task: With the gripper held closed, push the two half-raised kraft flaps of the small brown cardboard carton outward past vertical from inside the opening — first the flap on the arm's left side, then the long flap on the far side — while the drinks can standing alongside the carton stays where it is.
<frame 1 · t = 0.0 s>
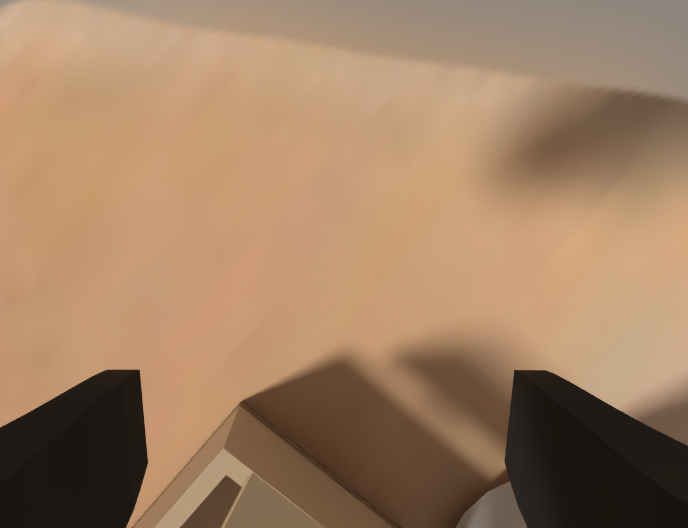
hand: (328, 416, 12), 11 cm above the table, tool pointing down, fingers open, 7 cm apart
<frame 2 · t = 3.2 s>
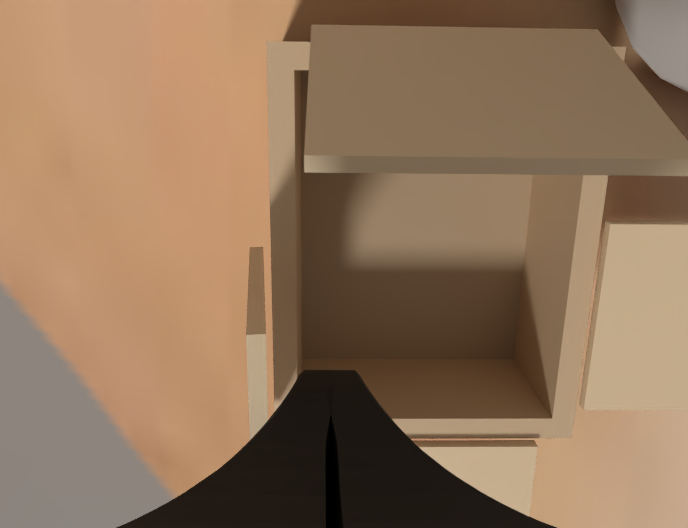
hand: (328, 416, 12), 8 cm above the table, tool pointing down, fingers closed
carton: (413, 222, 19), on the table
long flap: (474, 89, 11), point 7 cm above the table, hinge at 65.0°
side flap: (259, 398, 13), point 7 cm above the table, hinge at 84.1°, touching gripper
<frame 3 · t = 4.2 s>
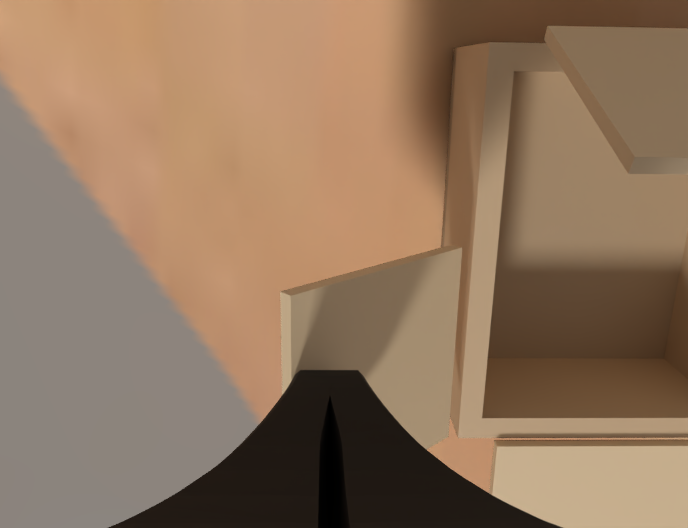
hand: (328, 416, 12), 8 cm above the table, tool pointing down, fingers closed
carton: (572, 222, 19), on the table
side flap: (378, 376, 14), point 6 cm above the table, hinge at 139.1°, touching gripper
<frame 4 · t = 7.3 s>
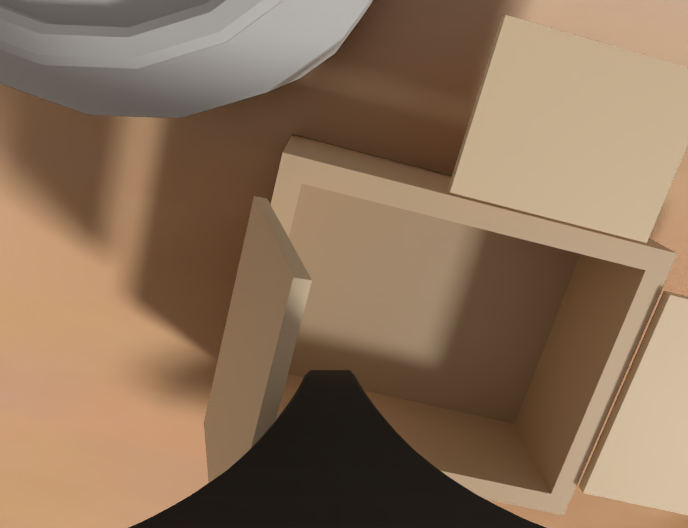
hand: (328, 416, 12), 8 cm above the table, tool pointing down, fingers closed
carton: (416, 297, 20), on the table
long flap: (244, 369, 13), point 7 cm above the table, hinge at 76.6°, touching gripper
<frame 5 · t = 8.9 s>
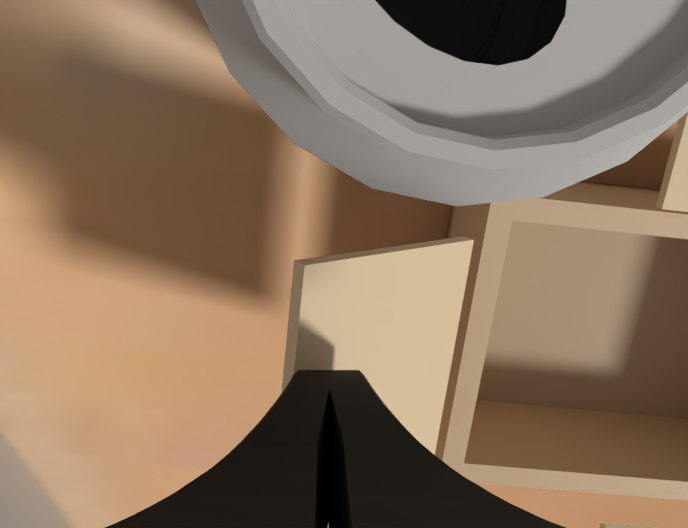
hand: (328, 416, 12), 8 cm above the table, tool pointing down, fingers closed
carton: (590, 308, 20), on the table
long flap: (376, 380, 14), point 6 cm above the table, hinge at 139.4°, touching gripper
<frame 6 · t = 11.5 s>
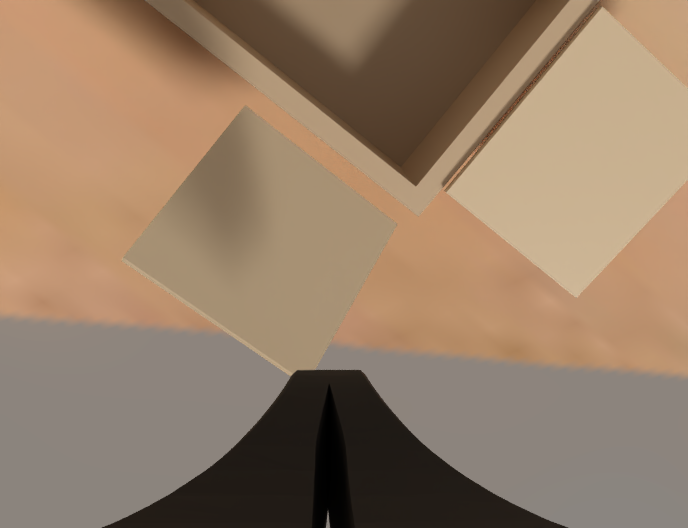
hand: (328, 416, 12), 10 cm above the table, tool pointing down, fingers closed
side flap: (273, 240, 15), point 6 cm above the table, hinge at 140.4°
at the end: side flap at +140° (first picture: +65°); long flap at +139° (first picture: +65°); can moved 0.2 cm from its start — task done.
